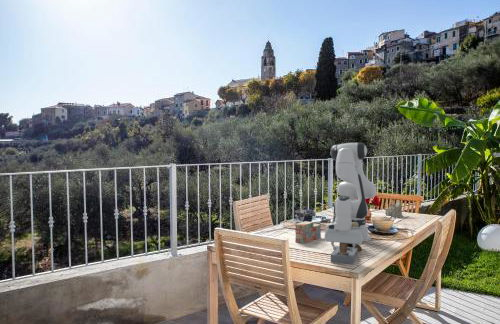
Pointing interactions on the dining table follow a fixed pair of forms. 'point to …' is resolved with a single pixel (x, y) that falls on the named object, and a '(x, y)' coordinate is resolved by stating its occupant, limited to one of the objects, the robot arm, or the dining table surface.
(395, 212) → the ceramic cottage
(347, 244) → the beige rough lumpy piece
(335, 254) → the two-hole board
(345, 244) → the walnut peg
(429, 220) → the dining table surface
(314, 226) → the stack of blocks
